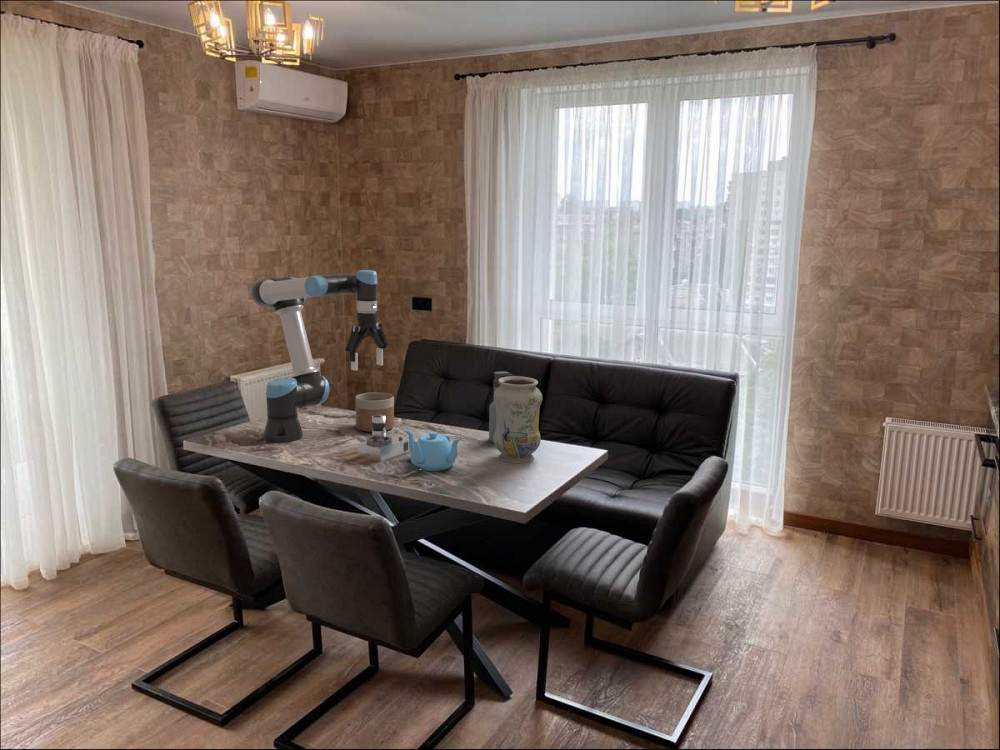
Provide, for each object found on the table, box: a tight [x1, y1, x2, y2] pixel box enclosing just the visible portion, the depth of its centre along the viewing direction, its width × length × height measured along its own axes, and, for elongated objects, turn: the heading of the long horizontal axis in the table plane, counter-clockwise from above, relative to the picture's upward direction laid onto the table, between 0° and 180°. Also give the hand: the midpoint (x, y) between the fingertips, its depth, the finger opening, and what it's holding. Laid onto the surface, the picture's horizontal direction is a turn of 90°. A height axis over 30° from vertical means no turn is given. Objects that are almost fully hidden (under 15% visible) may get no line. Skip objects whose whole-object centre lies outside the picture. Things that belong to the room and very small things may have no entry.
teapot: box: [404, 428, 461, 472], centre depth 270 cm, size 17×19×12 cm
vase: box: [493, 375, 543, 464], centre depth 278 cm, size 18×18×30 cm
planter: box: [355, 392, 395, 433], centre depth 318 cm, size 16×16×14 cm
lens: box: [371, 414, 387, 441], centre depth 275 cm, size 5×5×10 cm
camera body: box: [357, 434, 409, 462], centre depth 278 cm, size 11×15×6 cm
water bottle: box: [488, 371, 515, 443], centre depth 302 cm, size 10×10×28 cm
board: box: [335, 448, 411, 467], centre depth 278 cm, size 19×20×1 cm
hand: (367, 367), depth 287 cm, fingers open, 13 cm apart
